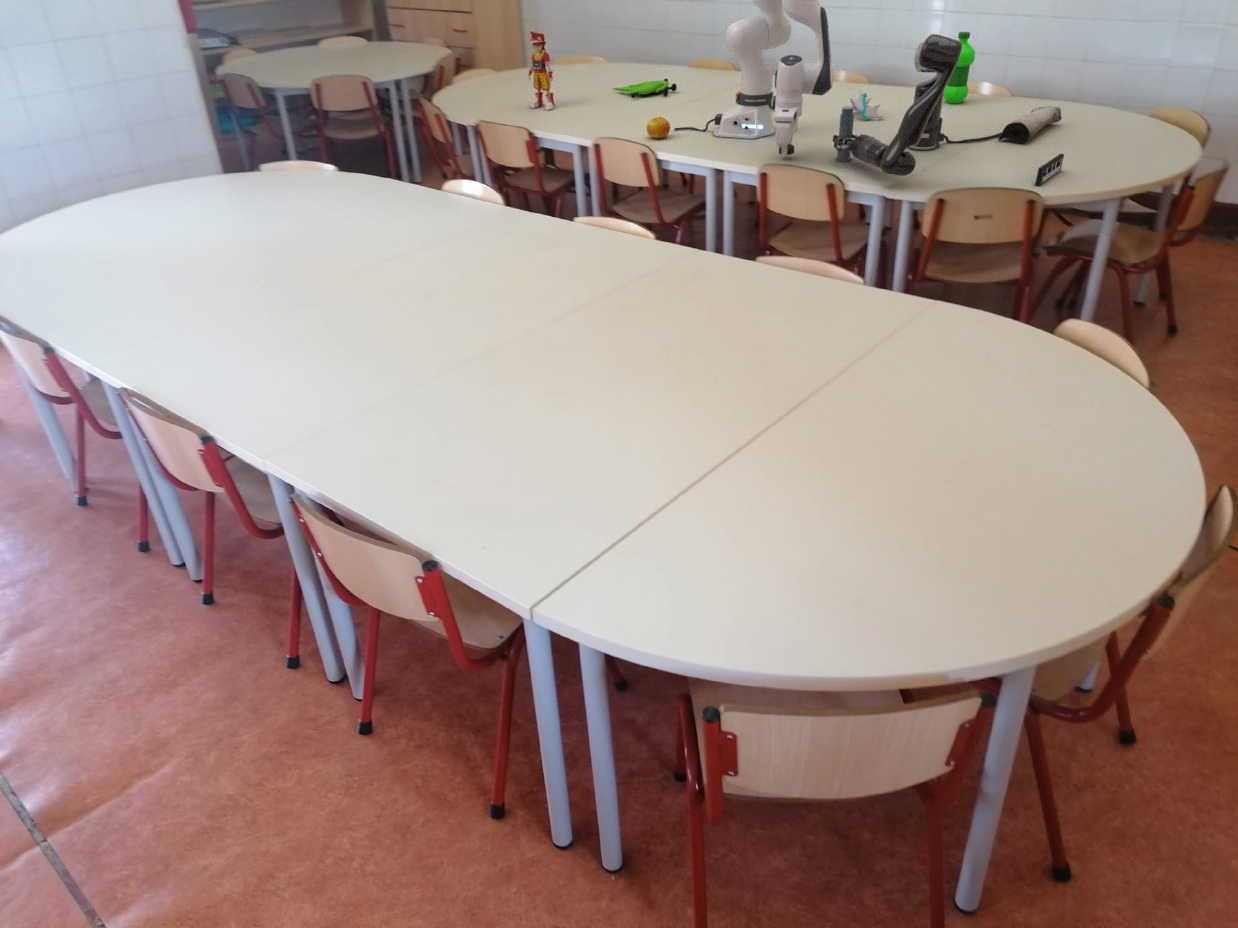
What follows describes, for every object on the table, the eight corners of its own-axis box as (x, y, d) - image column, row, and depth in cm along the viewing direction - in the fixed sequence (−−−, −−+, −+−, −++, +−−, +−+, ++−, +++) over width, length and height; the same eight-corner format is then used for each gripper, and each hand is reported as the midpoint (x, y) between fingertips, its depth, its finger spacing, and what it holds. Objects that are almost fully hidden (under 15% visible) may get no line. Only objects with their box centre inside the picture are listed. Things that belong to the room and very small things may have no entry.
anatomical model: (845, 89, 345) (871, 82, 345) (847, 116, 351) (873, 109, 351) (856, 98, 333) (883, 91, 332) (859, 126, 339) (885, 119, 338)
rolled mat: (1028, 111, 326) (1053, 93, 318) (1042, 132, 326) (1067, 115, 318) (994, 134, 309) (1019, 116, 300) (1008, 156, 309) (1034, 139, 301)
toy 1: (525, 109, 381) (517, 32, 364) (534, 104, 388) (527, 28, 371) (550, 110, 377) (543, 32, 360) (559, 105, 384) (553, 28, 367)
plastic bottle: (973, 101, 354) (984, 32, 339) (955, 106, 349) (966, 36, 335) (952, 97, 361) (962, 29, 346) (934, 102, 356) (944, 33, 342)
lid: (795, 154, 302) (796, 147, 301) (780, 155, 302) (781, 149, 300) (791, 150, 306) (792, 143, 305) (777, 151, 306) (777, 144, 305)
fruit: (639, 130, 331) (651, 110, 328) (647, 132, 339) (658, 113, 336) (657, 142, 330) (669, 123, 327) (664, 145, 338) (676, 126, 335)
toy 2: (686, 85, 398) (631, 84, 414) (685, 72, 395) (629, 72, 411) (651, 104, 381) (596, 103, 397) (650, 92, 378) (594, 91, 394)
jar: (834, 159, 302) (838, 107, 292) (845, 157, 303) (849, 105, 294) (841, 162, 298) (846, 110, 289) (852, 160, 300) (857, 108, 290)
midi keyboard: (1039, 185, 269) (1043, 168, 266) (1035, 184, 270) (1038, 168, 267) (1060, 170, 279) (1064, 154, 277) (1056, 169, 280) (1060, 153, 277)
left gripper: (784, 102, 305) (782, 143, 313) (772, 117, 289) (771, 160, 297) (803, 102, 303) (800, 144, 311) (792, 118, 287) (790, 161, 295)
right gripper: (889, 134, 285) (860, 122, 299) (850, 141, 282) (822, 128, 295) (886, 158, 289) (858, 145, 303) (847, 165, 286) (820, 151, 299)
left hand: (786, 152), depth 304 cm, fingers open, 5 cm apart
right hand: (840, 137), depth 299 cm, fingers closed on jar, 4 cm apart
